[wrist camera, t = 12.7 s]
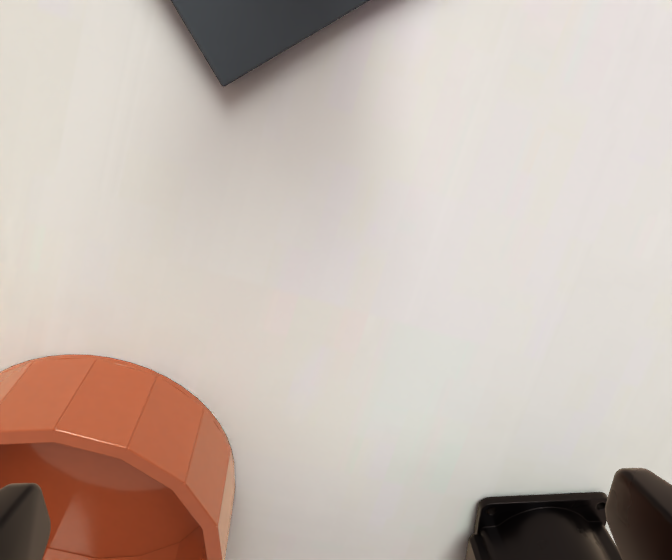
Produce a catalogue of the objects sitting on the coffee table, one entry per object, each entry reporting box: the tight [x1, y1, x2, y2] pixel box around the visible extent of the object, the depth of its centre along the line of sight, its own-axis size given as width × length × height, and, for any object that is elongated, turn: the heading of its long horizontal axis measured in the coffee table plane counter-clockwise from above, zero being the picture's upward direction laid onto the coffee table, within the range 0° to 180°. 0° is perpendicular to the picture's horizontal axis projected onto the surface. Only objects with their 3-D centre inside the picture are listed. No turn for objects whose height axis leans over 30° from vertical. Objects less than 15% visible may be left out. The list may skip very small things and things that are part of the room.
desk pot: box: [0, 355, 235, 560], centre depth 22 cm, size 12×12×4 cm
